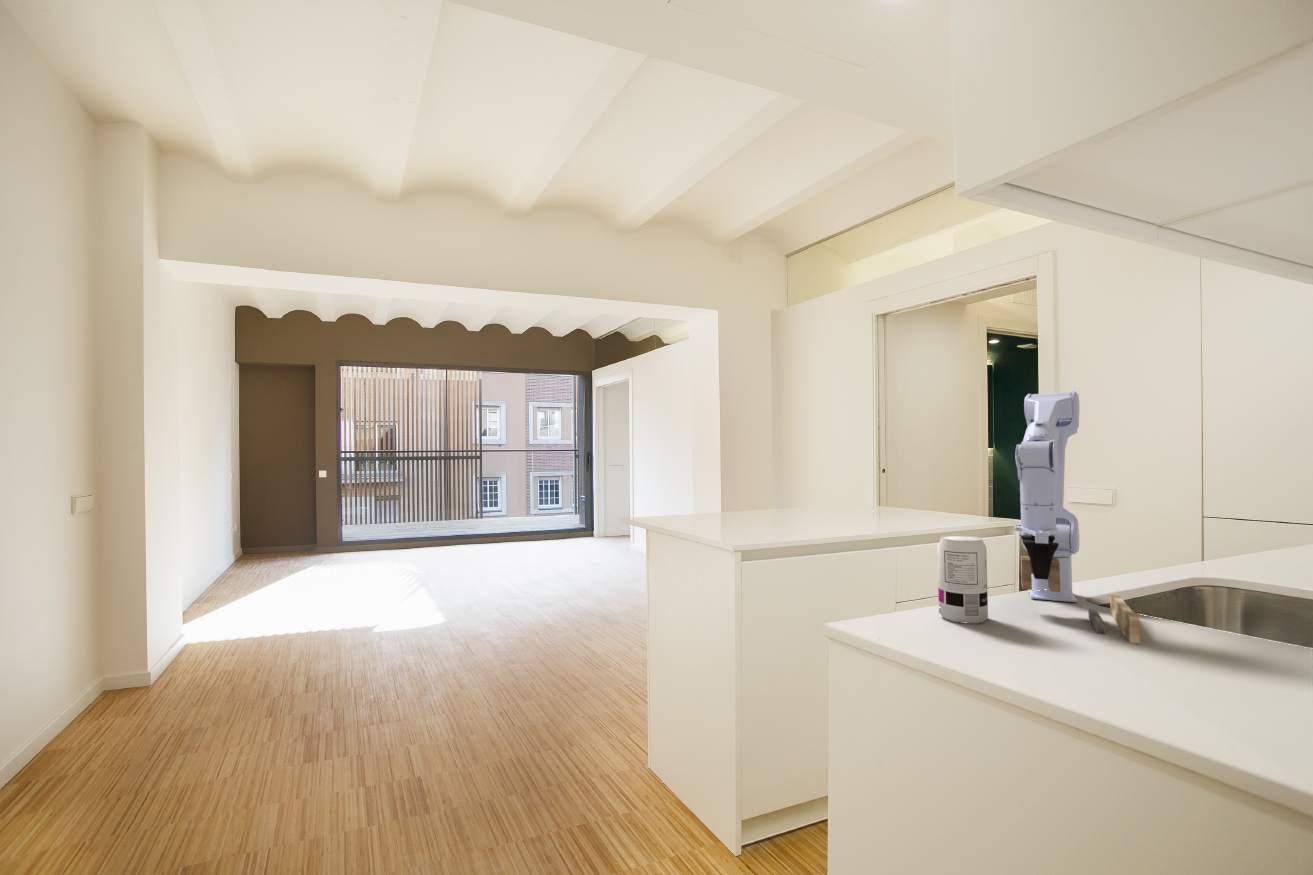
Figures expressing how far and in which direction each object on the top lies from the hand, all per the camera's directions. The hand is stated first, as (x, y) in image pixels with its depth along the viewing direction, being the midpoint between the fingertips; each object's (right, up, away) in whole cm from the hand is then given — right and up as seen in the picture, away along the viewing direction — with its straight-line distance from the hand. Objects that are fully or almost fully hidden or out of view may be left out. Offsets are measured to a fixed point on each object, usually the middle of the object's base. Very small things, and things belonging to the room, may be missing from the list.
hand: (1039, 575), depth 119 cm
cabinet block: (0, -2, 0) cm, 2 cm away
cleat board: (+7, -7, -9) cm, 13 cm away
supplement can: (-16, -8, -2) cm, 17 cm away
